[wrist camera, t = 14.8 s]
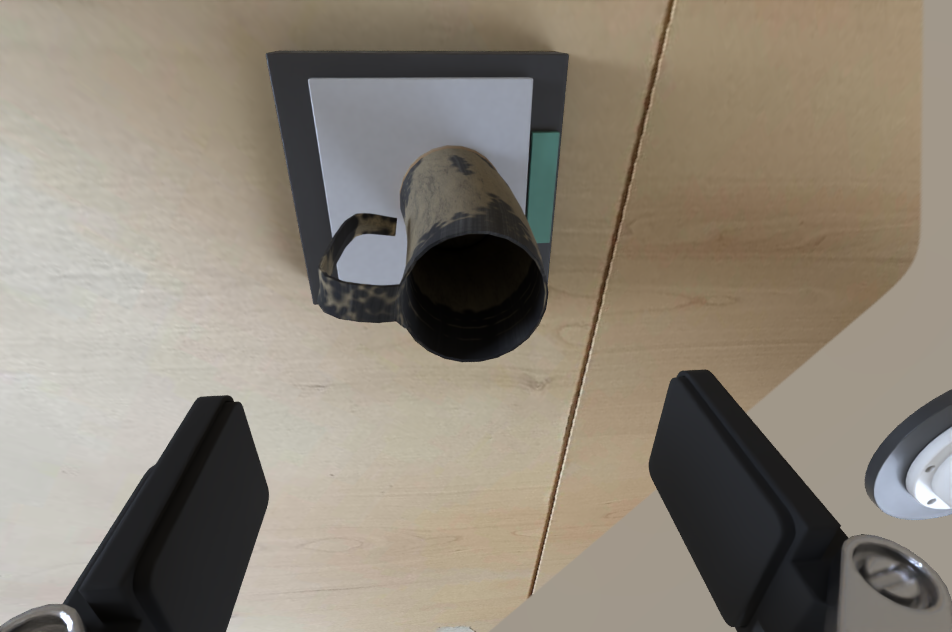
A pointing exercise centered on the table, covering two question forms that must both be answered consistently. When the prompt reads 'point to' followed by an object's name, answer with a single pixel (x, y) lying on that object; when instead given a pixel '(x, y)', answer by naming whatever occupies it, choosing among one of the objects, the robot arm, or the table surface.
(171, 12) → the table surface
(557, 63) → the scale
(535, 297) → the mug
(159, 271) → the table surface
